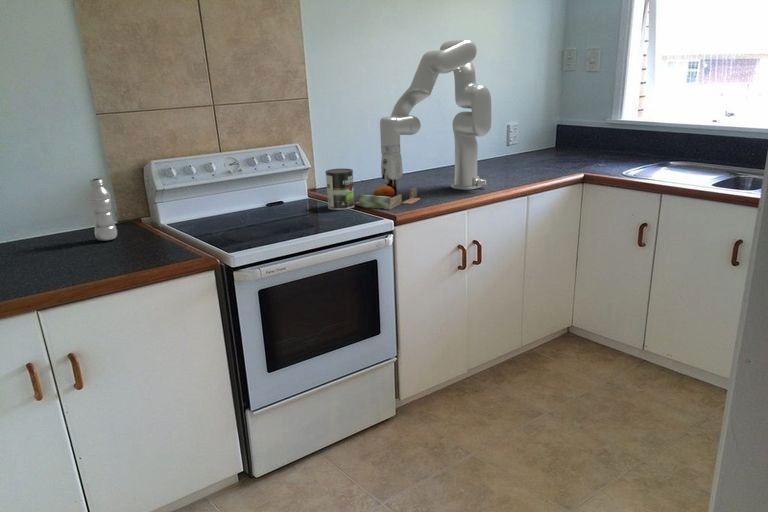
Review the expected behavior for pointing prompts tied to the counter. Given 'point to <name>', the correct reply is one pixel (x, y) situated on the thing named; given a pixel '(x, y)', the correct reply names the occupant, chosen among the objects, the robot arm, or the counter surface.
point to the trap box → (384, 200)
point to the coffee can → (340, 189)
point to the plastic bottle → (102, 210)
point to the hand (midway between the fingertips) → (392, 195)
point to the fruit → (384, 191)
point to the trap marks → (409, 201)
